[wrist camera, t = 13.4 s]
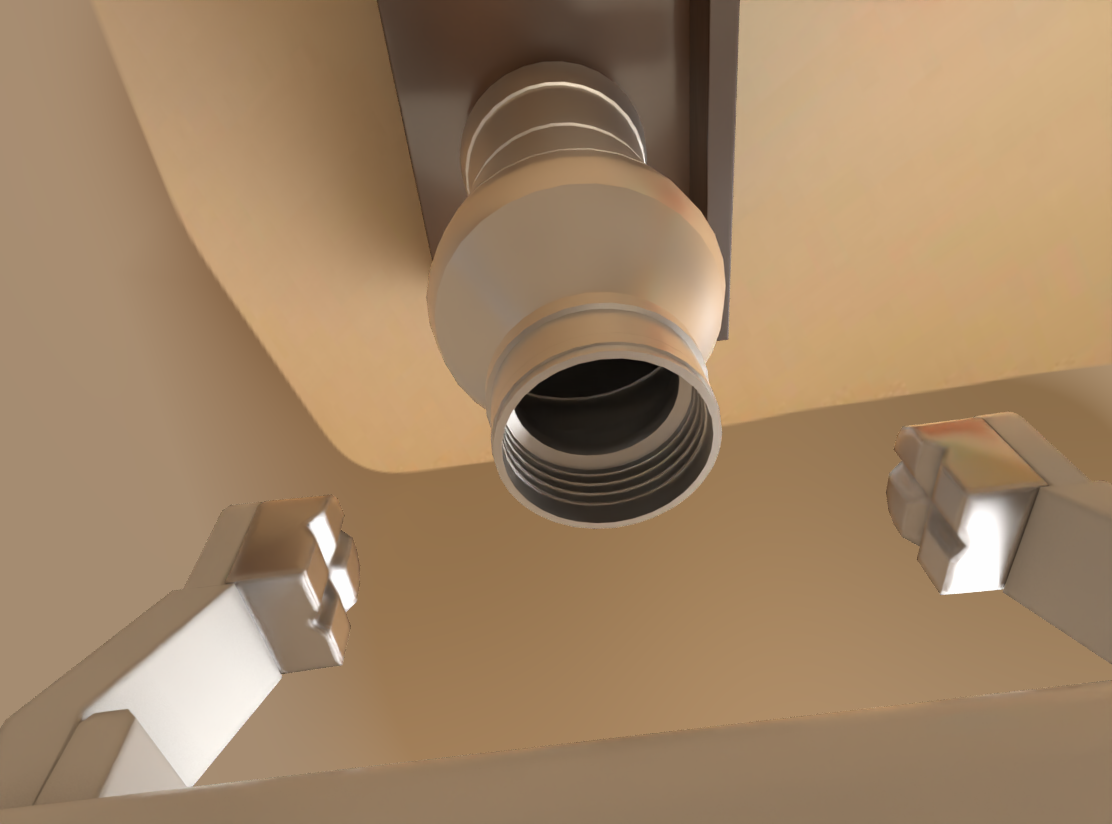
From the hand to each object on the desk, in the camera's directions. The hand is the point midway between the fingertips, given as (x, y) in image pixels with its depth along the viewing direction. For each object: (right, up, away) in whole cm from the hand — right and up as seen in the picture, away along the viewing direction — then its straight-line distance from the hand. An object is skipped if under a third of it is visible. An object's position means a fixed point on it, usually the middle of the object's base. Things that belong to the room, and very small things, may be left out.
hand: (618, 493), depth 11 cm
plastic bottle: (-1, +12, +18) cm, 21 cm away
